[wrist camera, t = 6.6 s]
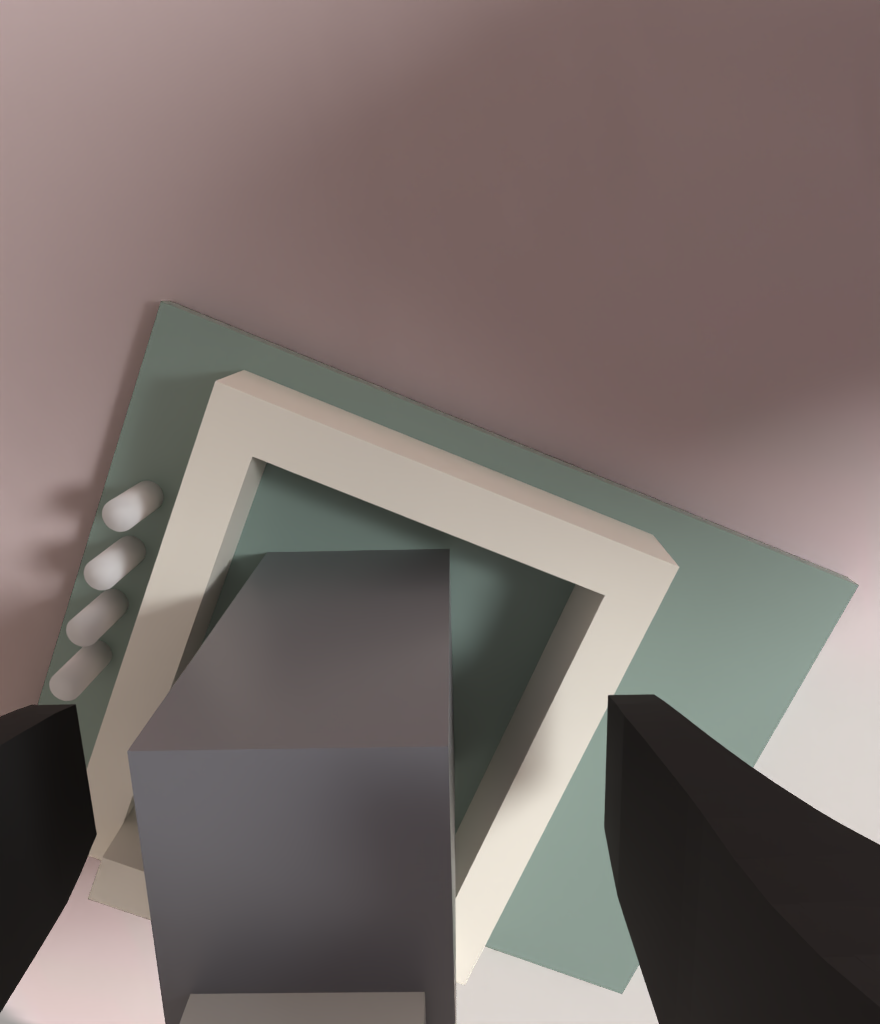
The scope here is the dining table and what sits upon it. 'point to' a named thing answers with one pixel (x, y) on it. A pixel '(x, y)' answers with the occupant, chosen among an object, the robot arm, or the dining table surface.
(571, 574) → the board
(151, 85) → the dining table surface
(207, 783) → the plug
